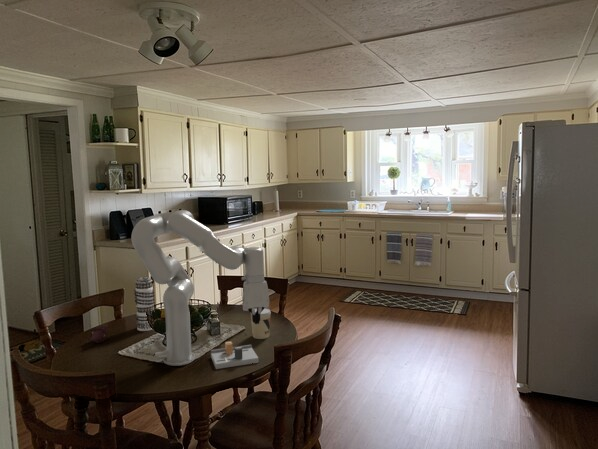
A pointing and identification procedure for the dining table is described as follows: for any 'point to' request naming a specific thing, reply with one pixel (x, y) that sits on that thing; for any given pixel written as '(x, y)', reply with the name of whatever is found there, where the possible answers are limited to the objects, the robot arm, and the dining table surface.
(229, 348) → the fader orange
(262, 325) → the coffee cup
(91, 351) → the dining table surface
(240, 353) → the fader black
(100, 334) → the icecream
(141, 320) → the decorative candle
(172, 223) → the robot arm
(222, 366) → the console
